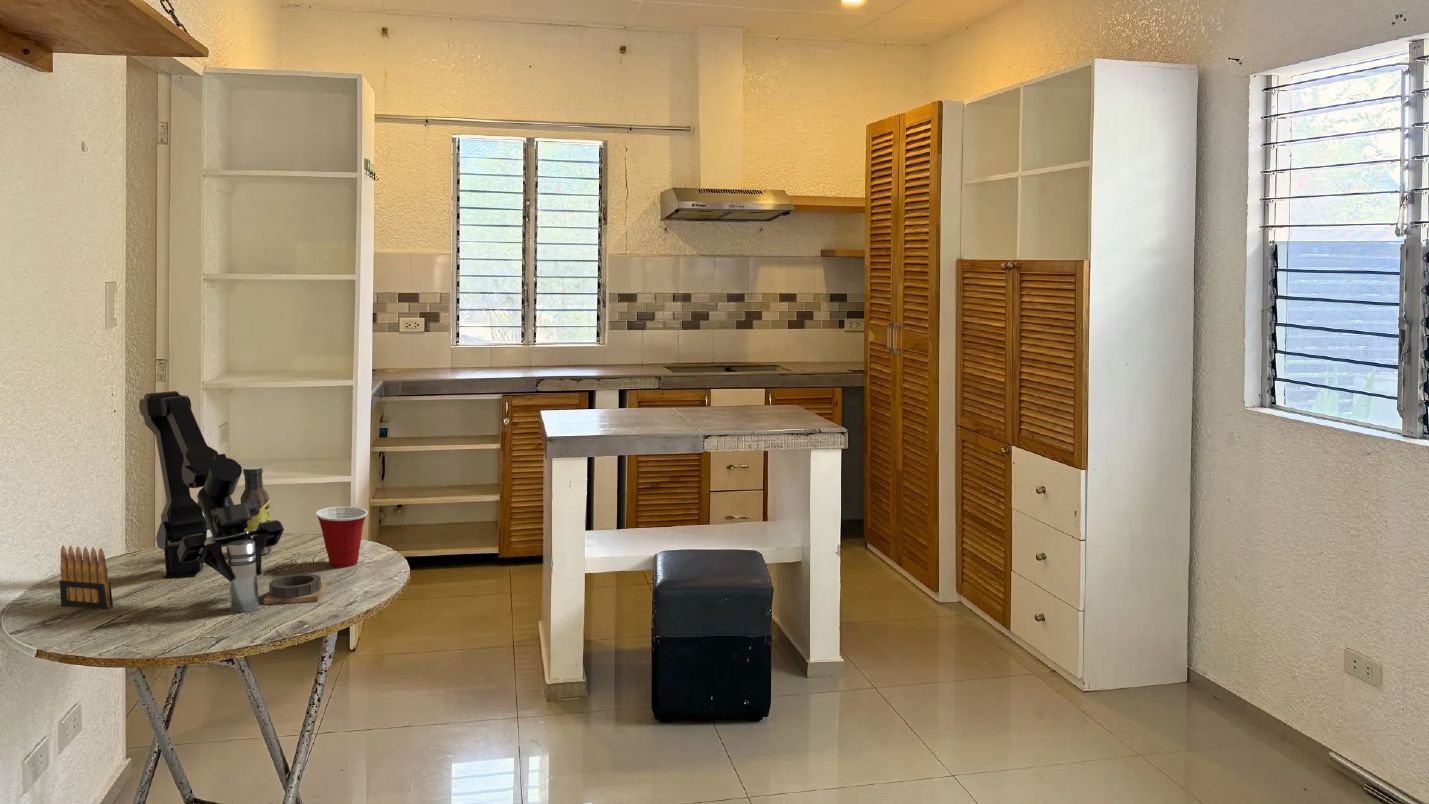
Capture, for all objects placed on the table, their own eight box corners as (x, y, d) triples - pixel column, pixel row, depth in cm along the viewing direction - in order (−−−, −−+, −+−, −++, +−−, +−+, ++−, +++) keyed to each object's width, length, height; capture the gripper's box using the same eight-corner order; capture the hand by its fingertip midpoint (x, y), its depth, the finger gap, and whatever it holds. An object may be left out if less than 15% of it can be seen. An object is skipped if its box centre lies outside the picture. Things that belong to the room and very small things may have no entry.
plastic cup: (354, 572, 236) (351, 517, 235) (308, 569, 238) (305, 515, 237) (379, 558, 247) (377, 506, 245) (335, 556, 249) (332, 504, 247)
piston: (227, 613, 210) (223, 547, 208) (234, 605, 215) (230, 540, 213) (255, 612, 210) (251, 545, 209) (261, 603, 215) (257, 539, 214)
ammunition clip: (60, 605, 215) (55, 546, 214) (68, 602, 217) (62, 543, 215) (106, 609, 213) (100, 549, 211) (113, 606, 214) (108, 546, 213)
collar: (263, 604, 215) (262, 589, 215) (275, 589, 225) (274, 574, 224) (317, 601, 217) (316, 586, 216) (326, 586, 226) (325, 572, 226)
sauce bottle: (275, 554, 251) (269, 468, 248) (245, 558, 248) (239, 471, 245) (271, 548, 256) (265, 463, 254) (242, 551, 253) (236, 466, 251)
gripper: (178, 494, 206) (204, 563, 199) (277, 479, 219) (304, 544, 212) (166, 528, 212) (191, 596, 206) (263, 512, 225) (289, 575, 219)
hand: (245, 577), depth 211 cm, fingers closed on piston, 5 cm apart
